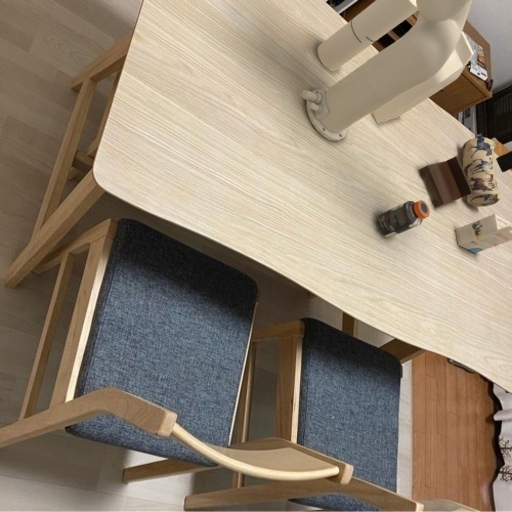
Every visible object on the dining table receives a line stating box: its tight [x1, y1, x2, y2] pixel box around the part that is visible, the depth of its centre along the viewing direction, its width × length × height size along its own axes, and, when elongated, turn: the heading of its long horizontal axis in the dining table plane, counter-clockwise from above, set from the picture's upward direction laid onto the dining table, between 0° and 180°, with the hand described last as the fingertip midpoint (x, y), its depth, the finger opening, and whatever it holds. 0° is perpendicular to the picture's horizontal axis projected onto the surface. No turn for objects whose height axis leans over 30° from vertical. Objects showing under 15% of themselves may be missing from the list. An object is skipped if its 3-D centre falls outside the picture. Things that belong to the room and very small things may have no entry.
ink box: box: [455, 213, 512, 254], centre depth 151 cm, size 8×5×15 cm, turn 89°
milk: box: [371, 30, 475, 124], centre depth 140 cm, size 12×12×26 cm
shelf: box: [418, 155, 473, 209], centre depth 153 cm, size 12×11×6 cm
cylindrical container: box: [316, 0, 419, 72], centre depth 131 cm, size 7×7×25 cm
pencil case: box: [461, 133, 501, 208], centre depth 165 cm, size 22×8×10 cm, turn 173°
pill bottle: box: [375, 199, 431, 239], centre depth 129 cm, size 6×6×11 cm
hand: (507, 161), depth 117 cm, fingers open, 9 cm apart
